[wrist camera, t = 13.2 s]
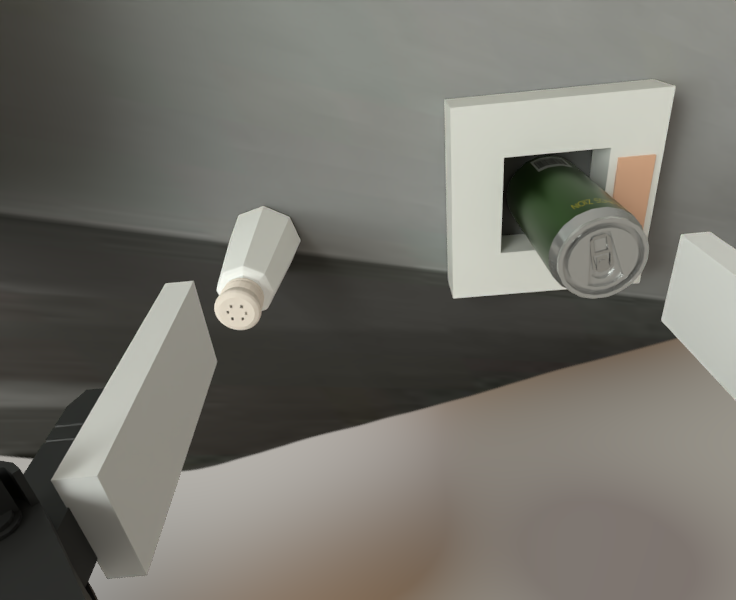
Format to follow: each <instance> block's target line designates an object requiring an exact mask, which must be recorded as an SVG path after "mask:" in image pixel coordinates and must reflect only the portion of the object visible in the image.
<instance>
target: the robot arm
mask: <svg viewBox="0 0 736 600" xmlns="http://www.w3.org/2000/svg"><path fill="white" fill-rule="evenodd" d="M661 321H662V322H663V323H664V324H665V325H666V326H667V327H668V328H669V329H670V331H671V332H672V333H673V334H674V335H675V336H676V337H677V338H678V339H679V340H680V341H681V342H682V343H683V345H684V346H685V347H686V348H687V349H688V350H689V351H690V352H691V353H692V354H693V355H694V356H695V357H696V359H697V360H698V361H699V362H700V363H701V364H702V365H703V366H704V367H705V368H706V369H707V370H708V371H709V372H710V374H711V375H712V376H713V377H714V378H715V379H716V380H717V381H718V382H719V383H720V384H721V385H722V387H723V388H724V389H725V390H726V391H727V392H728V393H729V394H730V395H731V396H732V397H733V398H734V400H735V401H736V249H734V248H733V247H731V246H730V245H728V244H727V243H726V242H724V241H723V240H721V239H720V238H718V237H717V236H715V235H714V234H713V233H711V232H700V233H690V234H681V237H680V241H679V245H678V250H677V254H676V258H675V263H674V267H673V271H672V275H671V280H670V284H669V288H668V293H667V297H666V301H665V306H664V310H663V314H662V318H661ZM216 364H217V360H216V356H215V353H214V349H213V346H212V342H211V339H210V336H209V332H208V329H207V325H206V322H205V318H204V315H203V311H202V308H201V305H200V301H199V298H198V294H197V291H196V287H195V284H194V281H186V282H175V283H165V285H164V287H163V288H162V290H161V292H160V294H159V295H158V297H157V299H156V300H155V302H154V304H153V306H152V307H151V309H150V311H149V313H148V314H147V316H146V318H145V319H144V321H143V323H142V325H141V326H140V328H139V330H138V331H137V333H136V335H135V337H134V338H133V340H132V342H131V343H130V345H129V347H128V349H127V350H126V352H125V354H124V355H123V357H122V359H121V361H120V362H119V364H118V366H117V367H116V369H115V371H114V373H113V374H112V376H111V378H110V379H109V381H108V383H107V385H106V386H105V388H103V389H92V390H86V391H85V392H83V393H82V394H81V395H80V396H79V397H78V398H77V399H75V400H74V401H73V402H72V403H71V404H70V405H68V406H67V407H66V409H65V411H64V412H63V414H62V415H61V417H60V418H59V420H58V421H57V423H56V428H53V429H52V431H51V432H50V434H49V435H48V437H47V439H46V443H43V445H42V446H41V448H40V449H39V451H38V452H37V454H36V456H35V457H34V459H33V460H32V462H31V464H30V465H29V467H28V468H27V470H26V471H25V473H24V474H23V473H22V472H21V470H20V469H19V468H18V467H17V466H16V465H15V464H14V463H11V462H4V461H0V600H98V599H97V597H96V595H95V593H94V591H93V589H92V587H91V586H90V584H89V582H88V580H89V578H90V575H91V573H92V571H93V568H94V566H95V563H96V561H97V562H98V564H99V565H100V567H101V569H102V571H103V572H104V574H105V576H106V578H107V579H112V578H123V577H134V576H145V575H147V574H148V571H149V567H150V565H151V562H152V558H153V555H154V553H155V550H156V547H157V543H158V540H159V537H160V534H161V531H162V528H163V525H164V522H165V519H166V516H167V513H168V510H169V507H170V504H171V501H172V498H173V495H174V492H175V489H176V486H177V483H178V480H179V477H180V473H181V470H182V467H183V464H184V461H185V458H186V455H187V452H188V449H189V446H190V443H191V440H192V437H193V434H194V431H195V428H196V425H197V422H198V419H199V416H200V413H201V410H202V406H203V403H204V400H205V397H206V394H207V391H208V388H209V385H210V382H211V379H212V376H213V373H214V370H215V367H216Z"/></svg>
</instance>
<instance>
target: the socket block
mask: <svg viewBox="0 0 736 600" xmlns="http://www.w3.org/2000/svg"><path fill="white" fill-rule="evenodd" d="M675 87H676V86H674V85H671V84H668V83H665V82H661V81H658V80H655V79H647V80H637V81H627V82H617V83H606V84H596V85H586V86H576V87H566V88H555V89H545V90H535V91H525V92H514V93H504V94H494V95H484V96H473V97H463V98H453V99H444V113H445V163H446V213H447V263H448V282H449V286H450V289H451V293H452V296H453V298H465V297H478V296H490V295H502V294H514V293H526V292H538V291H550V290H562V289H567V288H565V287H562V286H561V285H560V284H559V283H558V282H557V281H556V280H555V279H554V278H553V276H552V275H551V273H550V272H549V270H548V269H547V267H546V266H545V264H544V263H543V261H542V259H541V258H540V256H539V255H538V253H537V252H536V250H535V249H534V247H533V246H532V244H531V243H530V241H529V240H528V238H527V237H526V235H525V234H516V235H505V236H501V231H502V202H503V174H504V158H506V157H517V156H527V155H538V154H549V153H560V152H570V151H581V150H592V149H593V152H592V160H591V169H590V177H589V178H590V179H591V180H592V181H593V182H595V183H596V184H597V185H598V186H599V187H601V188H602V189H603V190H604V191H605V192H606V193H608V194H609V195H610V196H611V197H612V198H614V199H615V200H616V201H617V202H618V203H619V204H621V205H622V206H623V207H624V208H625V209H627V210H628V211H629V212H630V213H631V214H632V215H634V216H635V218H636V219H637V220H638V222H639V223H640V224H641V225H642V228H643V232H644V233H645V235H646V236H647V240H648V234H649V229H650V223H651V218H652V212H653V207H654V201H655V196H656V191H657V185H658V180H659V174H660V169H661V163H662V158H663V153H664V147H665V142H666V136H667V131H668V125H669V120H670V114H671V109H672V104H673V98H674V93H675ZM640 278H641V274H640V275H639V276H638V277H637V279H636V280H635V281H634V282H633V283H632V284H635V283H640Z"/></svg>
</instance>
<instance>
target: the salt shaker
mask: <svg viewBox="0 0 736 600" xmlns="http://www.w3.org/2000/svg"><path fill="white" fill-rule="evenodd" d="M300 241H301V240H300V238H299V236H298V234H297V231H296V229H295V227H294V225H293V223H292V221H291V219H290V217H289V216H286V215H284V214H282V213H279V212H277V211H274V210H272V209H270V208H267V207H265V206H262V207H259V208H257V209H254V210H251V211H248V212H246V213H243V214H240V215H238V218H237V221H236V224H235V226H234V229H233V232H232V235H231V238H230V241H229V245H228V248H227V252H226V255H225V259H224V263H223V266H222V270H221V274H220V277H219V281H218V285H217V290H216V291H217V292H218V294H219V297H218V298H217V300H216V302H215V305H214V311H215V314H216V316H217V318H218V320H219V321H220V322H221V323H222V324H224V325H225V326H227V327H229V328H232V329H235V330H246V329H249V328H251V327H253V326H255V325H256V324H257V323H258V321H259V319H260V317H261V311H263V310H266V309H267V308H268V307H269V305H270V303H271V301H272V299H273V297H274V295H275V293H276V291H277V289H278V287H279V285H280V284H281V282H282V280H283V278H284V276H285V274H286V272H287V270H288V268H289V266H290V264H291V262H292V260H293V257H294V255H295V253H296V250H297V248H298V246H299V243H300Z"/></svg>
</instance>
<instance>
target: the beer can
mask: <svg viewBox="0 0 736 600" xmlns="http://www.w3.org/2000/svg"><path fill="white" fill-rule="evenodd" d="M507 204H508V207H509V210H510V212H511V214H512V215H513V217H514V218H515V220H516V221H517V223H518V224H519V226H520V227H521V229H522V231H523V232H524V234H525V235H526V237H527V238H528V240H529V241H530V243H531V244H532V246H533V247H534V249H535V250H536V252H537V253H538V255H539V256H540V258H541V259H542V261H543V263H544V264H545V266H546V267H547V269H548V270H549V272H550V273H551V275H552V276H553V278H554V279H555V280H556V281H557V282H558V283H559V284H560V285H561V286H562V287H565V288H567V289H568V290H569V291H570V292H572V293H574V294H576V295H578V296H580V297H585V298H592V299H595V298H602V297H608V296H611V295H613V294H616V293H618V292H621V291H622V290H624V289H625V288H626V287H628V286H629V285H631V284H632V283H633V282H634V281H635V280H636V279H637V277H638V276H639V275H640V274H641V273H642V271H643V269H644V267H645V265H646V263H647V261H648V254H649V244H648V240H647V236H646V235H645V233H644V232H643V228H642V225H641V224H640V223H639V222H638V220H637V219H636V218H635V216H634V215H632V214H631V213H630V212H629V211H628V210H627V209H625V208H624V207H623V206H622V205H621V204H619V203H618V202H617V201H616V200H615V199H614V198H612V197H611V196H610V195H609V194H608V193H606V192H605V191H604V190H603V189H602V188H601V187H599V186H598V185H597V184H596V183H595V182H593V181H592V180H591V179H590V178H589V177H588V176H586V175H585V174H584V173H583V172H582V171H580V170H579V169H578V168H577V167H576V166H575V165H573V164H572V163H571V162H569V161H568V160H566V159H564V158H562V157H559V156H552V155H547V156H541V157H537V158H534V159H532V160H530V161H528V162H526V163H525V164H524V165H523V166H521V167H520V168H519V169H518V170H517V171H516V172H515V174H514V175H513V177H512V178H511V180H510V182H509V186H508V189H507Z"/></svg>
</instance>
